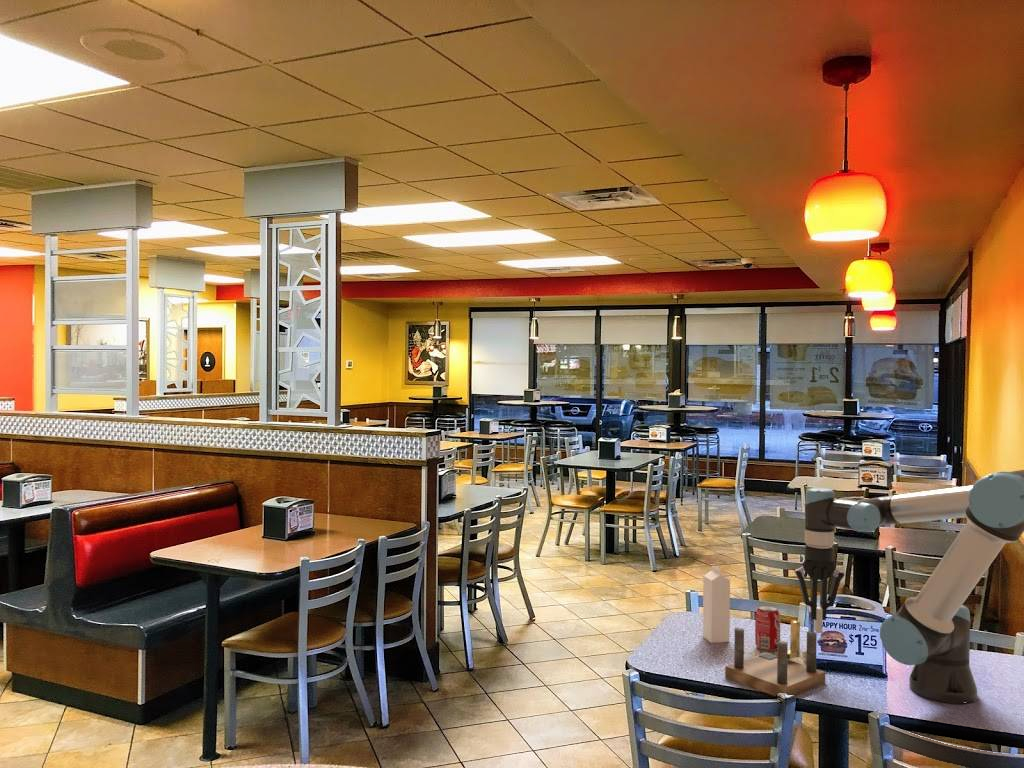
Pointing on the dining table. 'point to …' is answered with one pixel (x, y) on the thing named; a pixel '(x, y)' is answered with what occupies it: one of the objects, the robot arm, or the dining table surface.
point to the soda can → (767, 627)
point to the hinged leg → (794, 640)
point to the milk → (716, 606)
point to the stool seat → (775, 668)
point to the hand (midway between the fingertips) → (818, 631)
